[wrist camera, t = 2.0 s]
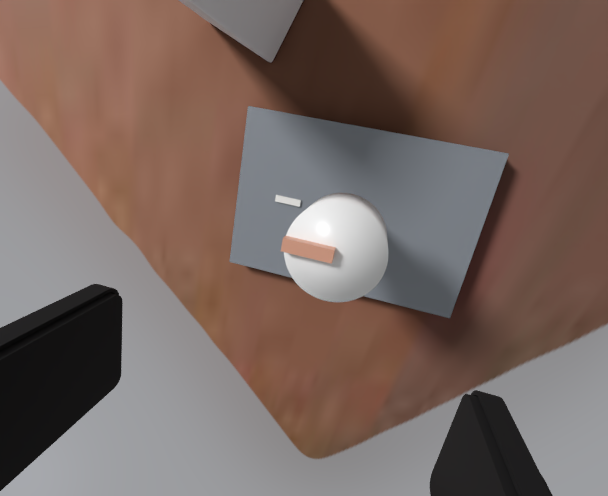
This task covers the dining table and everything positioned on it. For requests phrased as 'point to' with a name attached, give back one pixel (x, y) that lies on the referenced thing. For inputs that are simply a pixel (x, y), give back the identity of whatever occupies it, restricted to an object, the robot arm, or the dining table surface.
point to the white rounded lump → (337, 248)
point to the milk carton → (250, 21)
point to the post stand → (373, 187)
